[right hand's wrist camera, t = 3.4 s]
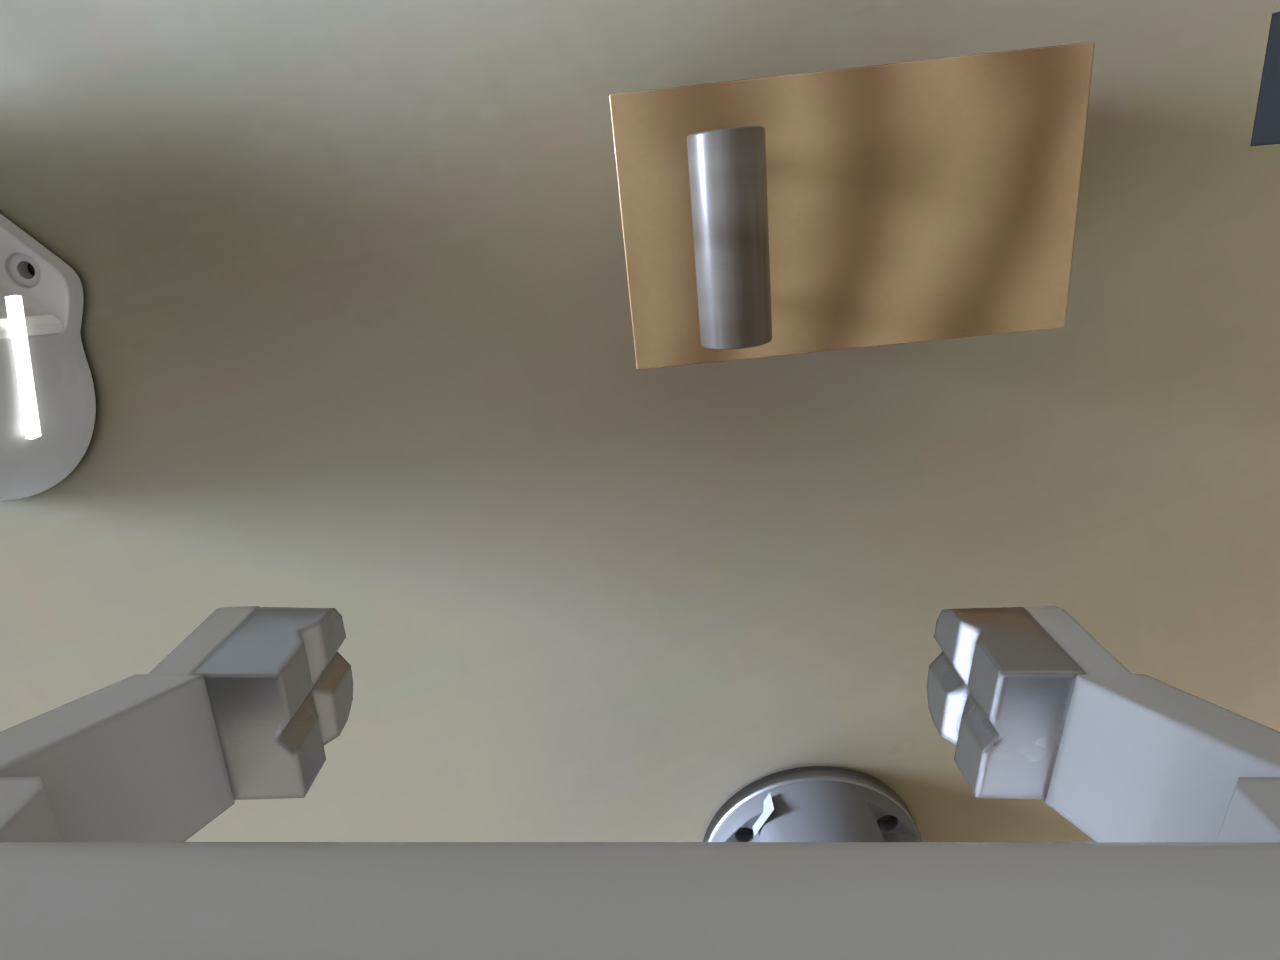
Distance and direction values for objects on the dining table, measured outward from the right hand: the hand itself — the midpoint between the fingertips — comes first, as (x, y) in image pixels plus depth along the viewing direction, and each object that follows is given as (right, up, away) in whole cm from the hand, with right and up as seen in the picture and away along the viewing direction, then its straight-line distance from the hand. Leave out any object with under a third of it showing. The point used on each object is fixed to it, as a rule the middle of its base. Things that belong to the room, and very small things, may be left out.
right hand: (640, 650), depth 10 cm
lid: (+8, +12, +17) cm, 23 cm away
